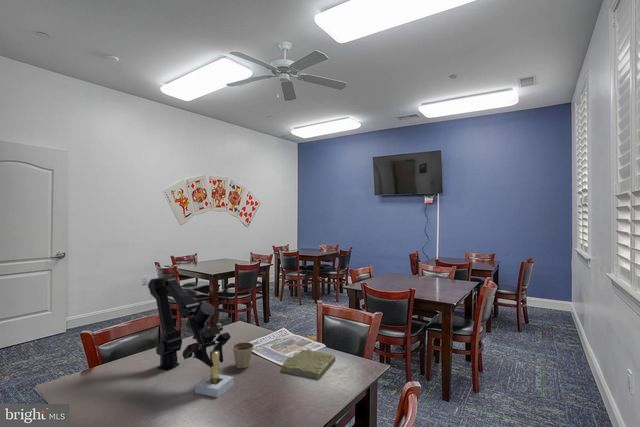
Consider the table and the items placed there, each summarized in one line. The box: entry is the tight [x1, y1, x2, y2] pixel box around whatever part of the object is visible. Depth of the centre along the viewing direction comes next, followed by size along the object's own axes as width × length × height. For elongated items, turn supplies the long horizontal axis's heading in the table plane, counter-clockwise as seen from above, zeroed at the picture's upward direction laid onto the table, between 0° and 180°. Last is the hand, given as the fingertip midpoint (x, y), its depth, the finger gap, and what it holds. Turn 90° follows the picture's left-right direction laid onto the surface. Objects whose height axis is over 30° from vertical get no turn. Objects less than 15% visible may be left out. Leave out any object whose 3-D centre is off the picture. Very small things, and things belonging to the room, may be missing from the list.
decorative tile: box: [280, 349, 336, 380], centre depth 151 cm, size 19×20×4 cm
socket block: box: [194, 373, 235, 398], centre depth 130 cm, size 10×10×3 cm
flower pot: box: [231, 341, 255, 369], centre depth 150 cm, size 9×9×9 cm
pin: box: [209, 349, 220, 385], centre depth 131 cm, size 3×3×14 cm
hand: (217, 364), depth 130 cm, fingers open, 5 cm apart
